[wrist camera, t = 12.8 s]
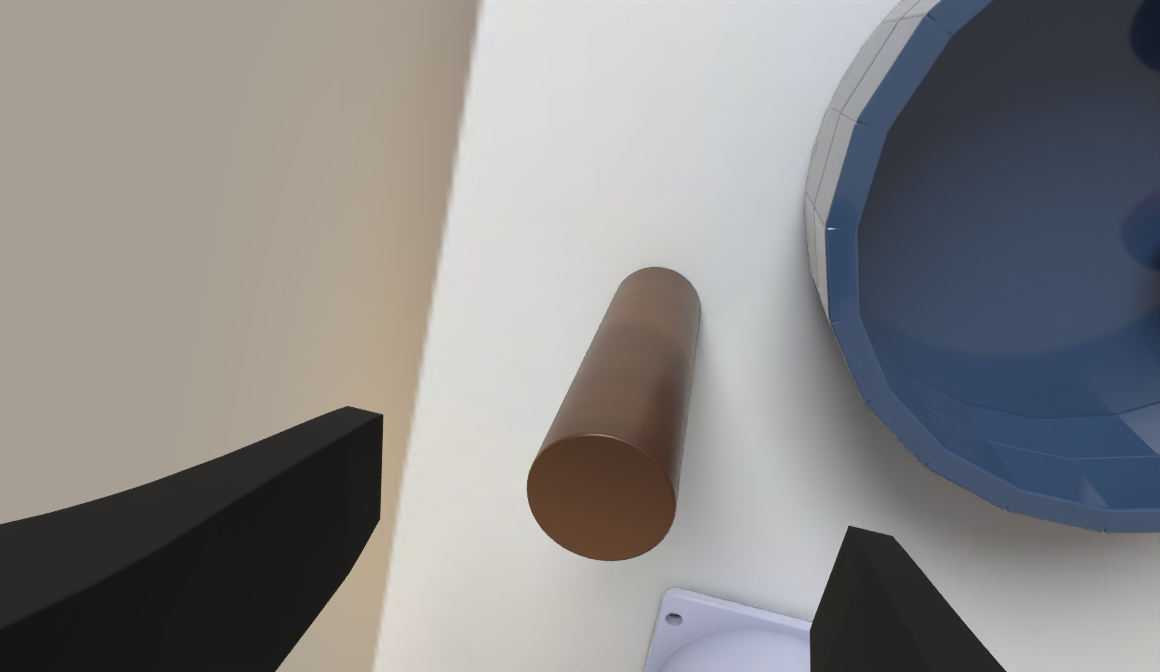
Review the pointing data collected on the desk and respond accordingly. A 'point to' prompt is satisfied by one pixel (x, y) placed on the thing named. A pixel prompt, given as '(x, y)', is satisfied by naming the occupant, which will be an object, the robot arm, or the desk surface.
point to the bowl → (1003, 248)
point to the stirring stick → (622, 425)
